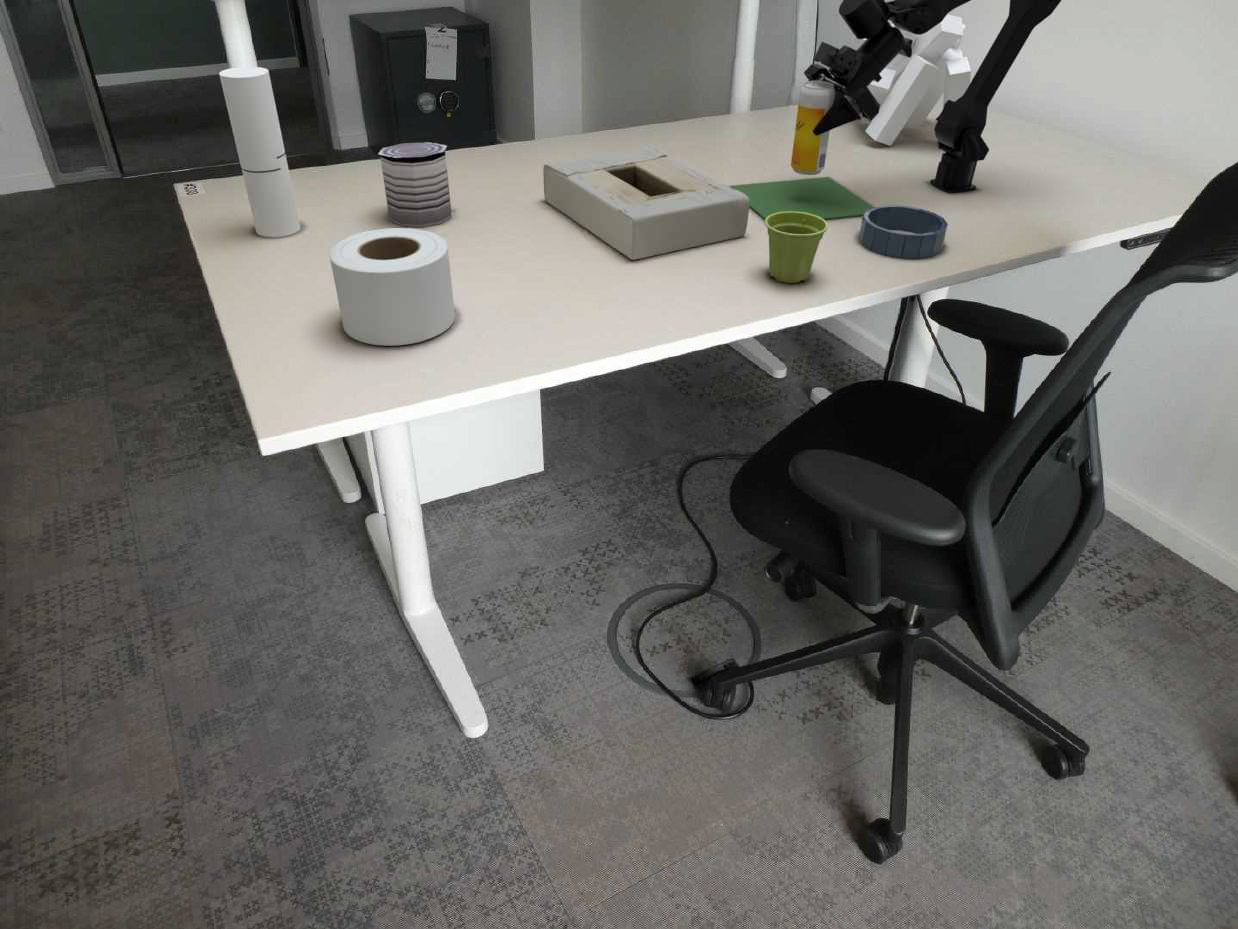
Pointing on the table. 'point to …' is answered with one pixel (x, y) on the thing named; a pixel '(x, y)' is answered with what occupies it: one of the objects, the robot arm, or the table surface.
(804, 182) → the green cloth
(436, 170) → the can
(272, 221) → the cylindrical container
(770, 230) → the plant pot
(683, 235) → the box
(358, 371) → the table surface
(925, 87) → the pile of blocks
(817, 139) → the beer can
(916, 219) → the blue round tray
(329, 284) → the table surface
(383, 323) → the tape roll
